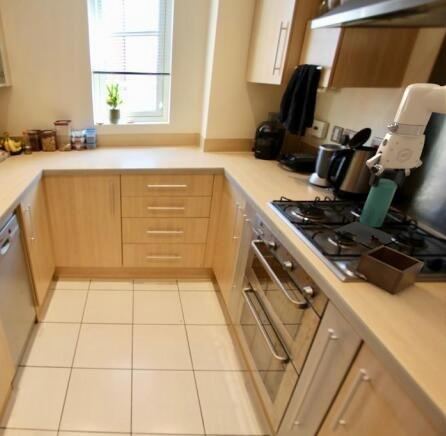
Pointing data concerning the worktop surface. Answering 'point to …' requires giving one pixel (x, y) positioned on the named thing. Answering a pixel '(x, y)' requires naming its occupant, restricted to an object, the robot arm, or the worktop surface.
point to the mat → (365, 232)
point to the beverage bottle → (379, 200)
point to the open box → (389, 268)
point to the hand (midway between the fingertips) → (384, 185)
